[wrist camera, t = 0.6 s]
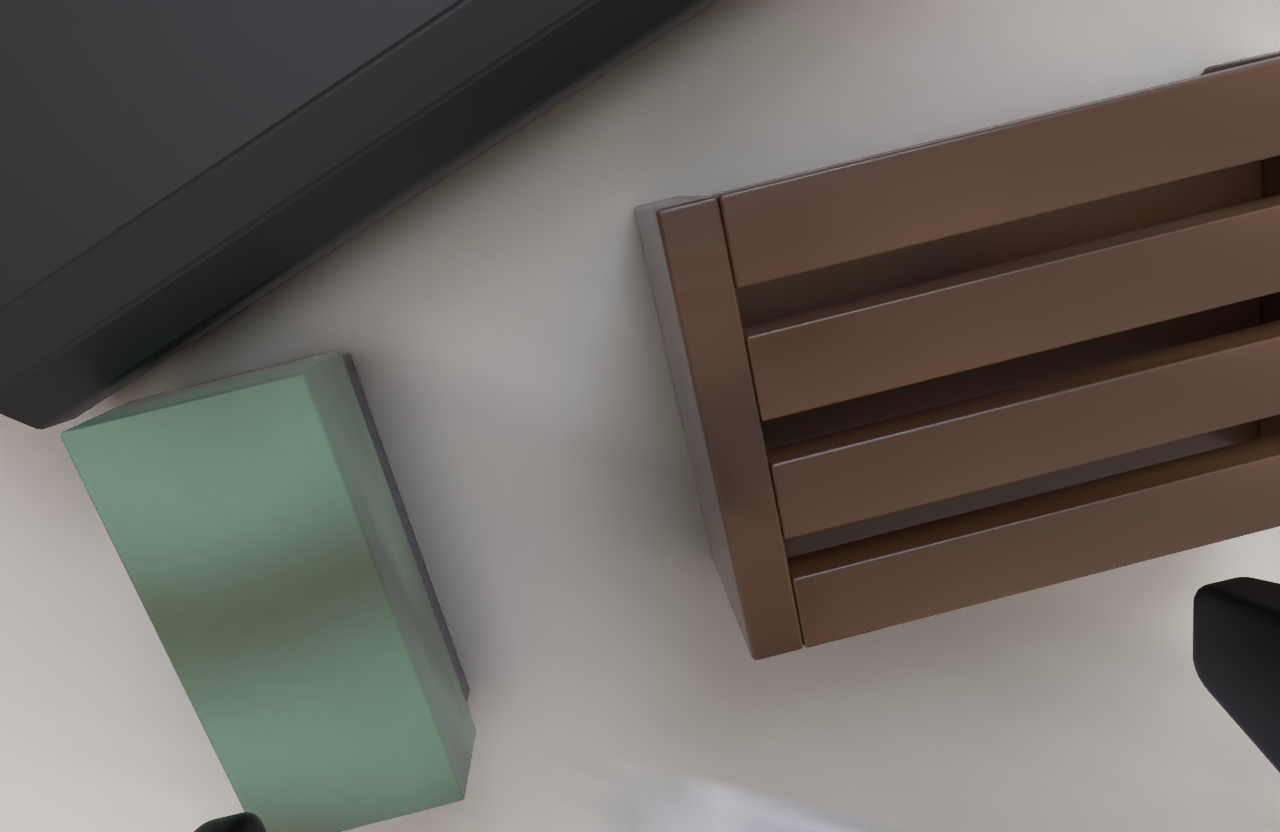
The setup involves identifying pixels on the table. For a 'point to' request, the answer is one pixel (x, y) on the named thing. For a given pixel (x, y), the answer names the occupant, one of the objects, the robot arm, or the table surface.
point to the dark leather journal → (241, 153)
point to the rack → (982, 357)
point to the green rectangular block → (287, 591)
